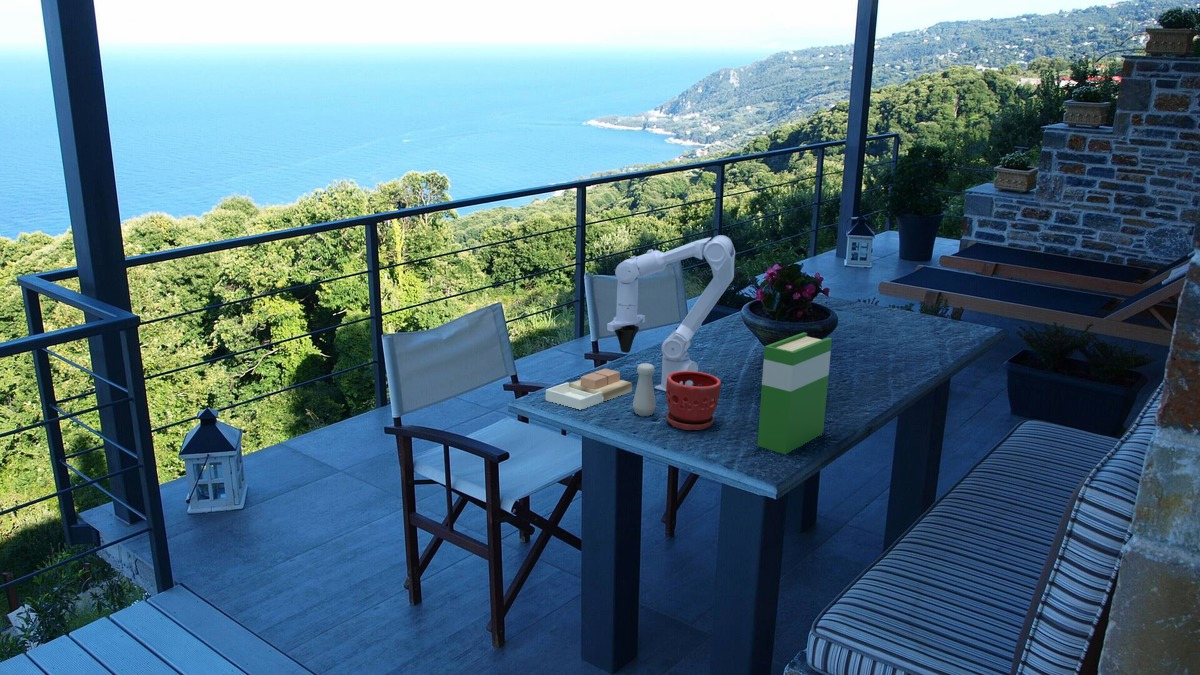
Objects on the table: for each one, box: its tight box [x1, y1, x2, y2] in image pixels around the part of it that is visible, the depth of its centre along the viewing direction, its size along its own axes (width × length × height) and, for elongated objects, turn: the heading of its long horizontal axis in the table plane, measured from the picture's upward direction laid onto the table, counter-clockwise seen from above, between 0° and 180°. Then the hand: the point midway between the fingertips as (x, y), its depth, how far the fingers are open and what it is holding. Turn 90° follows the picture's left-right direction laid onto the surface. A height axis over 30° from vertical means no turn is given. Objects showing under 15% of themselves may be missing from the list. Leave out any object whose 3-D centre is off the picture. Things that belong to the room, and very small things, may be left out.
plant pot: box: [665, 371, 722, 431], centre depth 229 cm, size 13×13×12 cm
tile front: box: [580, 372, 607, 390], centre depth 250 cm, size 5×5×2 cm
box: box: [545, 382, 604, 410], centre depth 244 cm, size 12×9×3 cm
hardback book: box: [757, 332, 833, 455], centre depth 219 cm, size 18×7×24 cm, turn 139°
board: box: [568, 379, 633, 402], centre depth 252 cm, size 12×12×2 cm
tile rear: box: [593, 368, 621, 385], centre depth 254 cm, size 5×5×2 cm
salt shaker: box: [632, 362, 657, 417], centre depth 235 cm, size 6×6×13 cm
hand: (625, 351), depth 258 cm, fingers closed
